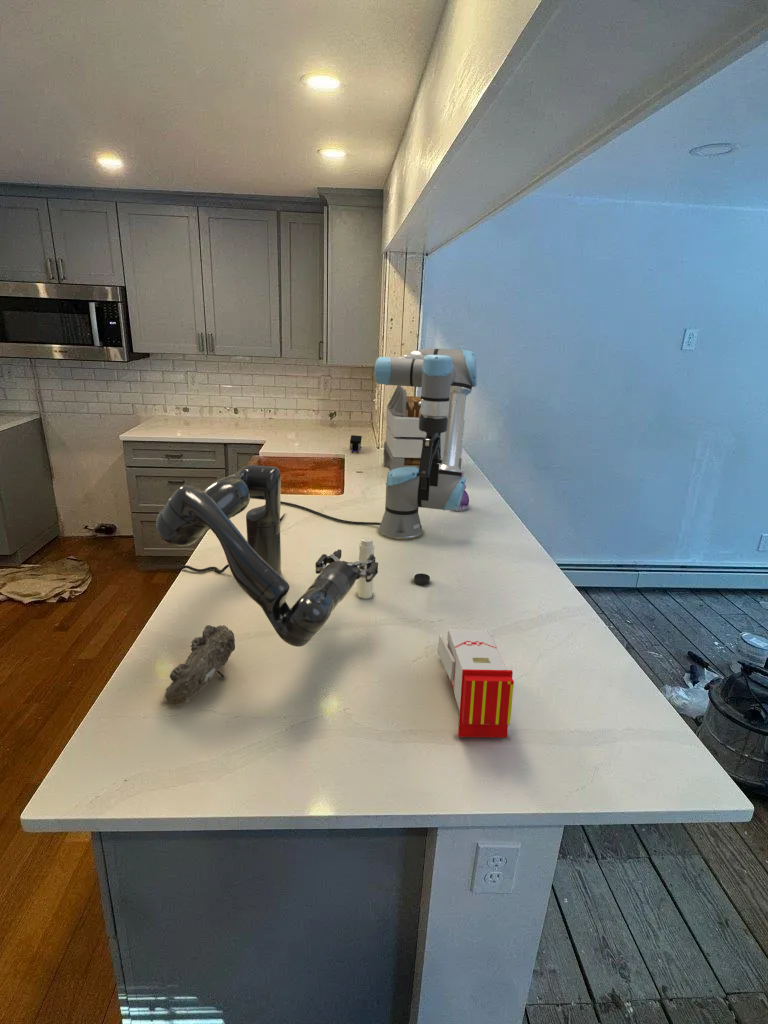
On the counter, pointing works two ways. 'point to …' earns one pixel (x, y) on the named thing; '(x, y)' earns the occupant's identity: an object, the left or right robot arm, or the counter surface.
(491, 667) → the toy
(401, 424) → the white storage crate
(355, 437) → the figurine character
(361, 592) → the bottle
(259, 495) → the left robot arm
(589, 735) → the counter surface
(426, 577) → the lid
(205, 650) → the fossil
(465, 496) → the figurine
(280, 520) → the feather
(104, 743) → the counter surface
